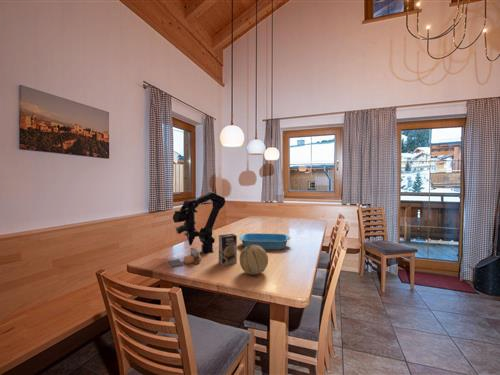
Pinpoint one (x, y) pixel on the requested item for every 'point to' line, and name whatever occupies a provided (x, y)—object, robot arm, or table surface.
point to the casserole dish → (265, 240)
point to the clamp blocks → (195, 259)
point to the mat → (176, 263)
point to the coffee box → (227, 249)
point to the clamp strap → (195, 252)
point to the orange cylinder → (190, 259)
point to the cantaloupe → (253, 259)
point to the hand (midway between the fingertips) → (190, 245)
